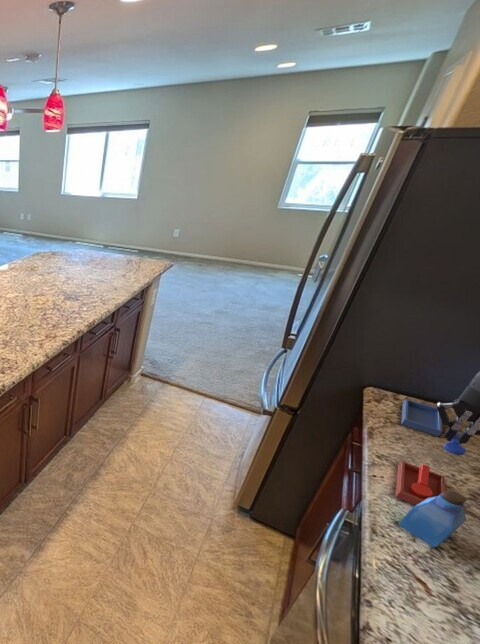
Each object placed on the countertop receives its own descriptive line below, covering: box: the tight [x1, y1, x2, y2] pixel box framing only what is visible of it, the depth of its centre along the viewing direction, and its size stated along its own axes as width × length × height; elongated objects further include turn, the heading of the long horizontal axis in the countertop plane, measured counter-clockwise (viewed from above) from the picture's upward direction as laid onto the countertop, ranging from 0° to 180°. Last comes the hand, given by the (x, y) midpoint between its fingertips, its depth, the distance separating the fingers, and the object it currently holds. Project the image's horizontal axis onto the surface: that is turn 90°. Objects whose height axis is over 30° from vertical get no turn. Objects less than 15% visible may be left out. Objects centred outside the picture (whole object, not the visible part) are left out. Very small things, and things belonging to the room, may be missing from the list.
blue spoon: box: [442, 431, 467, 456], centre depth 103 cm, size 11×4×2 cm, turn 135°
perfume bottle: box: [397, 489, 468, 548], centre depth 84 cm, size 6×6×12 cm
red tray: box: [395, 460, 446, 506], centre depth 97 cm, size 14×8×2 cm, turn 134°
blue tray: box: [400, 398, 443, 437], centre depth 119 cm, size 14×8×2 cm, turn 134°
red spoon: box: [410, 463, 433, 499], centre depth 97 cm, size 11×4×2 cm, turn 134°
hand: (452, 440), depth 104 cm, fingers closed on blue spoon, 1 cm apart
